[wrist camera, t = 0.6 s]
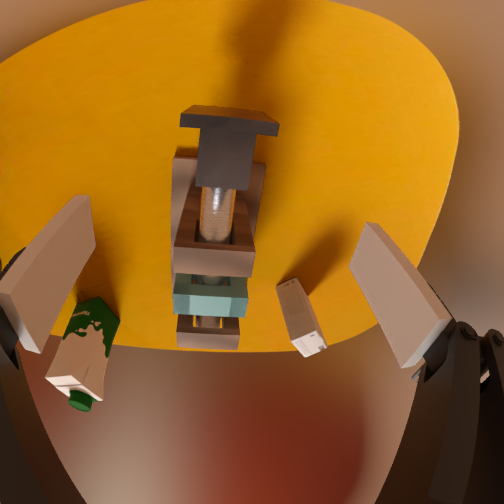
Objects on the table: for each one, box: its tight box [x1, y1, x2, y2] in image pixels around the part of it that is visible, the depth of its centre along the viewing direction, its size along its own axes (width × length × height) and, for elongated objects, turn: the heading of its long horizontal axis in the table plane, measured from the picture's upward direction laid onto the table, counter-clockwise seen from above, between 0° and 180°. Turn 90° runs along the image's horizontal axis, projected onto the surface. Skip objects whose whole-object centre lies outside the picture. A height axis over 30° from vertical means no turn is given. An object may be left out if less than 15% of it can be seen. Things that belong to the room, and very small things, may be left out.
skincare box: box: [276, 278, 327, 357], centre depth 45 cm, size 6×4×12 cm
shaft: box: [180, 105, 279, 328], centre depth 30 cm, size 30×7×9 cm, turn 171°
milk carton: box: [45, 297, 120, 412], centre depth 40 cm, size 9×9×20 cm
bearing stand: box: [171, 156, 266, 350], centre depth 36 cm, size 24×12×15 cm, turn 171°
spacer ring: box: [173, 273, 248, 317], centre depth 33 cm, size 3×8×8 cm, turn 81°
